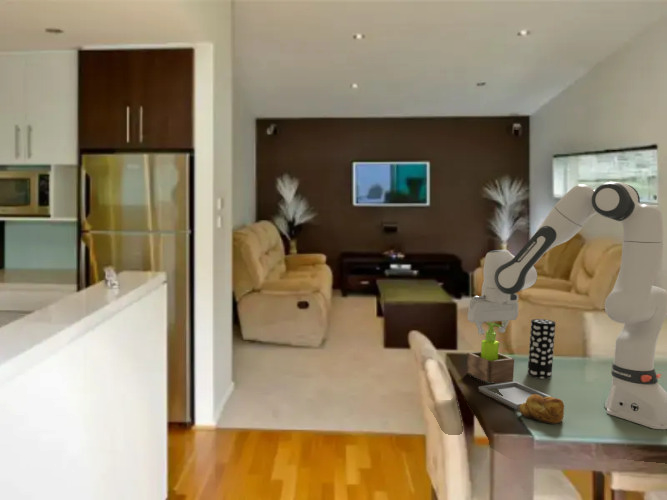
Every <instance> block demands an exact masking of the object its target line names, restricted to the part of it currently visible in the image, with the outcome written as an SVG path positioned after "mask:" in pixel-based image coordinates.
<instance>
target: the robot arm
mask: <svg viewBox="0 0 667 500" xmlns="http://www.w3.org/2000/svg"><path fill="white" fill-rule="evenodd" d="M640 201H641V199H640V194H639V193H638V191H637V190H636V188H634V187H633V186H632V185H629V184H626V183H624V182H621V181H608V182H604V183H602V184H601V185H598V186H597V187H596V189H595V188H594V187H591V186H590V185H587V184H581V183H579V184H576V185H574V186H573V187H572V188H570V189H569V191H567V192H565V194H564V195H563V196H562V197H561V198H560V199H559V201H557V203H555V205H554V206H553V207H552V208H551V210H550V211H549V213H548V214H547V216H546V217H545V218H544V220H543V222H542V223H541V225H540V226H539V227H538V228H537V230H536V232H535V233H534V234H533V236H531V238H530V239H529V240H528V241H527V243H525V244H524V246H522V248H521V249H520V250H519V251H518V253H517V254H516V255H514V254H512V252H510V251H509V250H507V249H497V250H490V251H488V252H487V253H486V255H485V257H484V258H485V259H484V264H483V272H482V274H483V281H482V286H481V295H479V296H478V295H474V296H473V297H472V298H471V299H470V300H469V306H468V311H467V317H466V318H467V320H468V322H470V323H474V324H475V326H476V328H477V334H478V335H480V336H482V335H485V329H483V327H482V326H483V325H484V323H488V322H501V325H502V327H498V332H499V333H501V334H502V333H506V328H507V327H508V325H509V321H514V320H515V321H516V319H518V316H519V302H518V301H519V298H520V297H519V294H517V293H519V292H521V291H523V290H526V289H528V288H530V287H533V286H534V285H535V284H536V282H537V280H538V270H537V268H536V267H535V265H536V264H537V263H538V261H540V259H541V258H542V257H543V256H544V255H545V254H546V253H547V252H548V251H550V250H551V249H553V248H554V247H557V246H559V245H562V244H563V243H567V242H568V241H570V240H571V239H573V238H574V237H575V236H576V235H577V234H578V233H579V232H580V231H581V230H582V229H583V227H584V226H585V225H586V224H587V222H588V221H589V220H590V219H591V218H592V217H593V216H595V215H597V214H599V215H601V216H602V217H604V218H606V219H607V218H608V219H611V220H614V221H617V222H621V224H622V228H623V231H622V233H623V234H622V246H621V260H620V267H619V272H618V274H617V278H616V281H615V283H614V286H613V288H612V290H611V292H609V294H608V295H607V296H606V298H605V301H604V311H605V313H606V315H607V317H608V318H609V319H610V320H611V321H613V322H615V323H619V324H624V325H623V327H622V329H621V331H620V333H619V334H618V336H616V340H615V345H614V347H615V348H614V359H613V363H612V365H611V377H612V378H611V384H610V388H609V393H608V396H607V399H606V401H605V403H604V407H605V409H606V414H608V415H611V416H613V417H617V418H620V419H623V420H627V421H628V422H633V423H634V424H635V423H636V424H639V425H641V426H644V427H647V428H651V429H653V430H667V391H666V390H665V389H664V388H663V386H661V385H660V383H659V379H660V378H662V373H658V374H657V372H656V370H655V367H654V365H655V358H656V357H655V356H656V348H657V342H658V339H659V335H660V333H661V330H662V328H663V325H664V322H665V319H666V317H667V290H666V289H664V288H662V287H660V286H656V285H654V282H655V281H656V278H657V275H658V274H659V273H660V271H661V269H662V267H663V252H664V222H663V214H662V212H661V209H659V208H657V207H656V206H654V205H651V204H642V203H641V202H640Z"/></svg>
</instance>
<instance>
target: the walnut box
mask: <svg viewBox="0 0 667 500" xmlns="http://www.w3.org/2000/svg"><path fill="white" fill-rule="evenodd" d="M514 369H515V358H513V357H511V356H507V355H505V354H502V353H500V352H498V360H493V361H489V360H487V359H484V358H482V357H481V351H480V350H479V351H473V352H472V351H471V352H467V358H466V373H467V372H468V373H471V374H472V375H475V376H477V377H479V378H481V379H483V380H485V381H488V382H494V383H495V384H501V383H508V382H514V371H515V370H514Z"/></svg>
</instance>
